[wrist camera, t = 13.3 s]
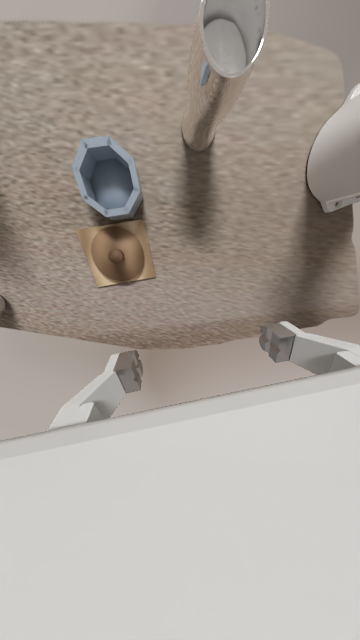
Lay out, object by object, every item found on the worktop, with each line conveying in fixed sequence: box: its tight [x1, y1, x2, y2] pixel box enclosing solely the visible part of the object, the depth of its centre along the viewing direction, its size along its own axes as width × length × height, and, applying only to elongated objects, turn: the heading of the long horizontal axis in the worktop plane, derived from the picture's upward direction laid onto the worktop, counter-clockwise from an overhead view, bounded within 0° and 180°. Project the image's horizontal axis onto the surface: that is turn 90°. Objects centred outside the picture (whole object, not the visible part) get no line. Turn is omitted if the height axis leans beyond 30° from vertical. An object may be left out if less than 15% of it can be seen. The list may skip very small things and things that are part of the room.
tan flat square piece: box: [75, 219, 156, 287], centre depth 35 cm, size 14×12×1 cm
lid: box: [91, 227, 144, 281], centre depth 33 cm, size 11×11×4 cm
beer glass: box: [182, 0, 269, 151], centre depth 21 cm, size 7×7×15 cm
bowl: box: [72, 136, 143, 220], centre depth 27 cm, size 10×10×5 cm
